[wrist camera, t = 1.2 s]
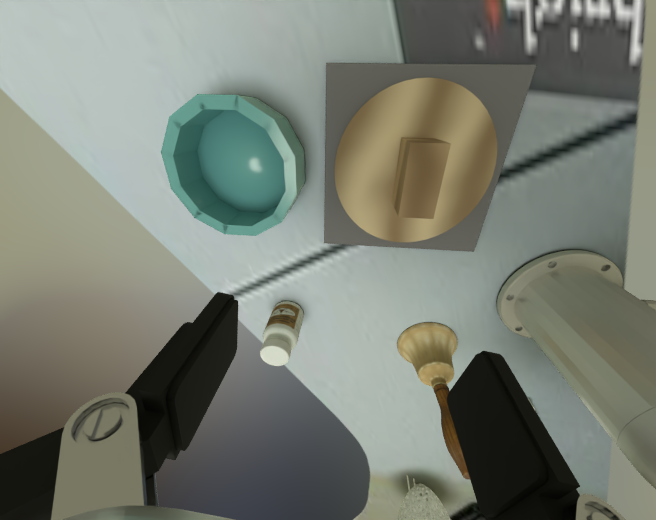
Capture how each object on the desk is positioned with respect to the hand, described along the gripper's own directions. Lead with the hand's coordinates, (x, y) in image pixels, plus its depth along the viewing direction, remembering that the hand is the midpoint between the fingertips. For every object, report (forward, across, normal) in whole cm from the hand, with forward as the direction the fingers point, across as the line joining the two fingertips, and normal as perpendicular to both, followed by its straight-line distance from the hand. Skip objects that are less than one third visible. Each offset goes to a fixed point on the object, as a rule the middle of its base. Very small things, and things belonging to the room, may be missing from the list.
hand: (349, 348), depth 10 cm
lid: (+20, -5, -4) cm, 21 cm away
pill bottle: (+21, +5, +18) cm, 28 cm away
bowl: (+20, +12, -1) cm, 24 cm away
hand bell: (+21, -15, +18) cm, 32 cm away
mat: (+21, -5, -4) cm, 22 cm away
